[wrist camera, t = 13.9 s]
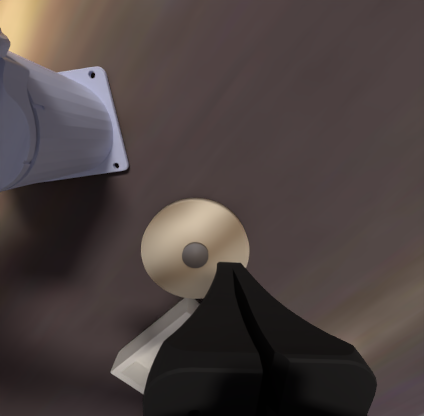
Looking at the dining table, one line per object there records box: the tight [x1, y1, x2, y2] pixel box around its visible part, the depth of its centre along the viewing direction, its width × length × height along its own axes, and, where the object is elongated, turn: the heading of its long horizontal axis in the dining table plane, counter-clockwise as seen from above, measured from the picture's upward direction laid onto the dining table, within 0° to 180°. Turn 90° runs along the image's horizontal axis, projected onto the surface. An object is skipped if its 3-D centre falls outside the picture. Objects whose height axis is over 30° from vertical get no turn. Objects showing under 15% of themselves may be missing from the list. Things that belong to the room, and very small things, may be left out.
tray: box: [110, 298, 200, 394], centre depth 25 cm, size 12×12×2 cm
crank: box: [141, 198, 249, 299], centre depth 19 cm, size 10×10×5 cm
